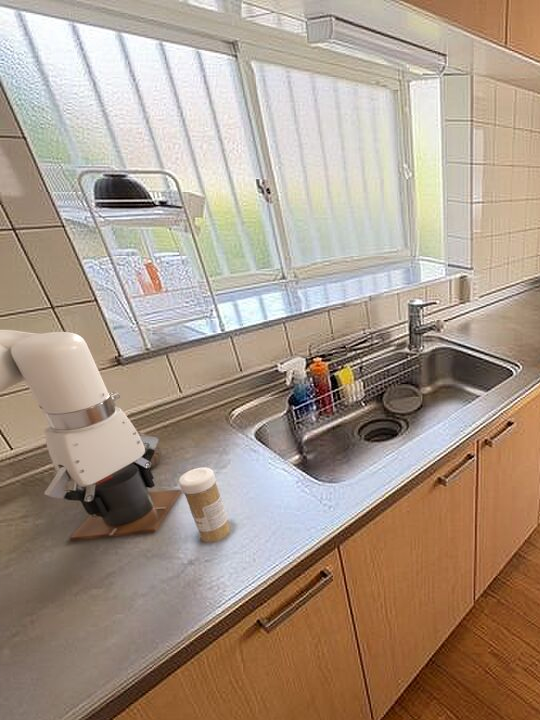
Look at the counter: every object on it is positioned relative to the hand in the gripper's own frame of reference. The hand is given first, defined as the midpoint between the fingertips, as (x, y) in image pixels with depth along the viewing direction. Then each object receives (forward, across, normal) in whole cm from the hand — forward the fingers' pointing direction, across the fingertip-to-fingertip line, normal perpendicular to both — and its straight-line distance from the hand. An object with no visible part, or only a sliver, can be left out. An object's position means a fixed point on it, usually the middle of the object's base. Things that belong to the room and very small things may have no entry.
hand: (124, 498), depth 73 cm
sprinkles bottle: (+5, -2, +17) cm, 18 cm away
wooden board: (+5, 0, 0) cm, 5 cm away
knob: (+3, 0, 0) cm, 3 cm away
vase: (+5, -11, -12) cm, 17 cm away
